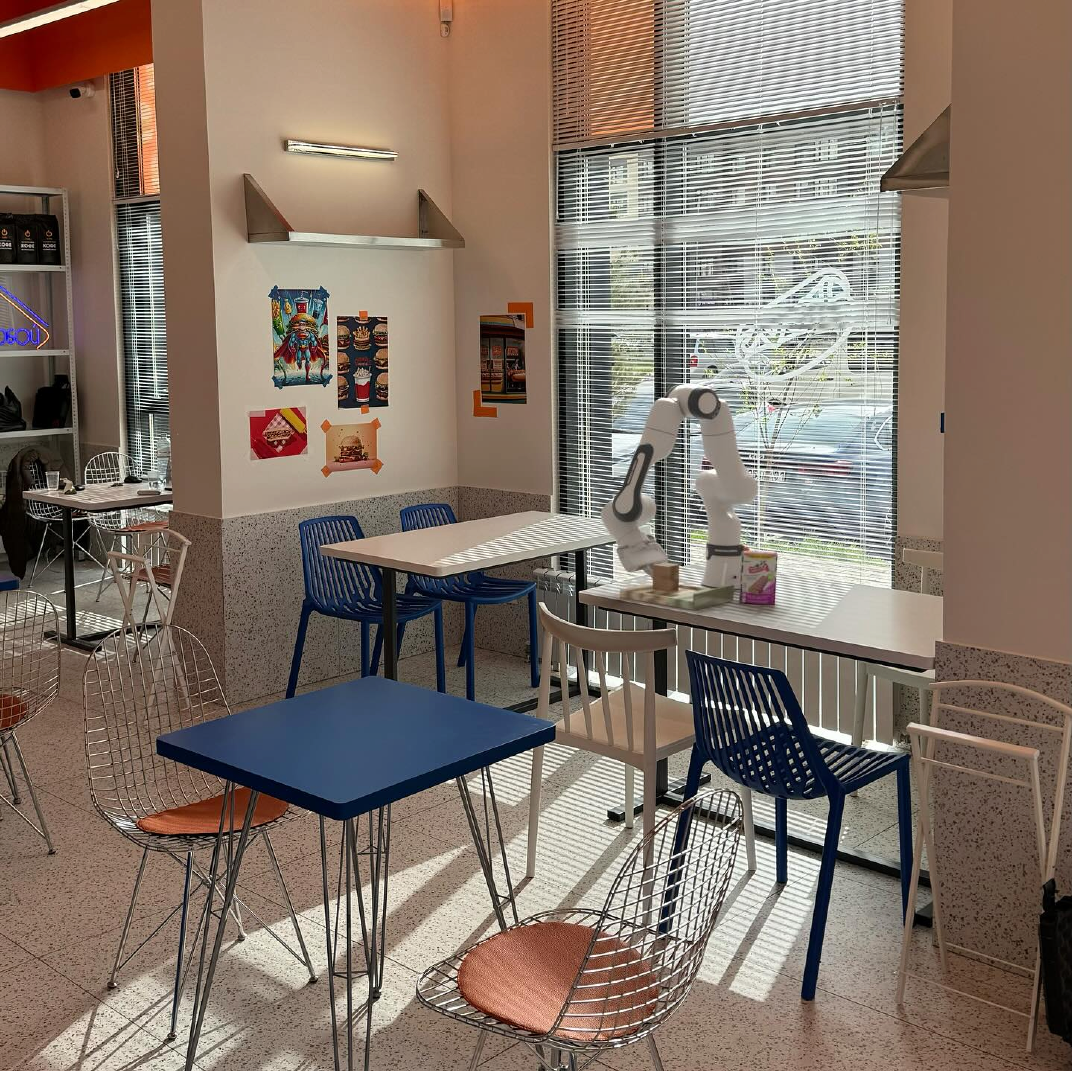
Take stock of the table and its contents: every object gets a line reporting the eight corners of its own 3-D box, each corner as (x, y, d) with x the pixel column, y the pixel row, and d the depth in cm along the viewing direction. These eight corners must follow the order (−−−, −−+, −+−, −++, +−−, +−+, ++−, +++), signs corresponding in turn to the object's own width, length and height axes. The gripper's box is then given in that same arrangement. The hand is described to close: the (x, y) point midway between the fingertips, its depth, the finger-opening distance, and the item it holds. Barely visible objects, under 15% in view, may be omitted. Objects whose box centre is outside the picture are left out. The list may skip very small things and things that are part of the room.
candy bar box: (739, 604, 394) (741, 552, 391) (738, 601, 399) (740, 550, 396) (775, 605, 393) (778, 553, 390) (774, 602, 397) (776, 551, 395)
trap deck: (619, 597, 402) (620, 581, 401) (659, 588, 418) (659, 573, 417) (695, 610, 383) (696, 594, 382) (733, 600, 399) (734, 584, 399)
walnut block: (663, 586, 407) (663, 562, 406) (678, 589, 403) (679, 564, 402) (652, 589, 402) (653, 564, 401) (667, 591, 399) (668, 566, 398)
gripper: (620, 541, 400) (643, 575, 395) (657, 535, 416) (680, 568, 411) (608, 553, 404) (632, 587, 399) (645, 547, 419) (668, 579, 414)
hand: (657, 577), depth 405 cm, fingers closed
